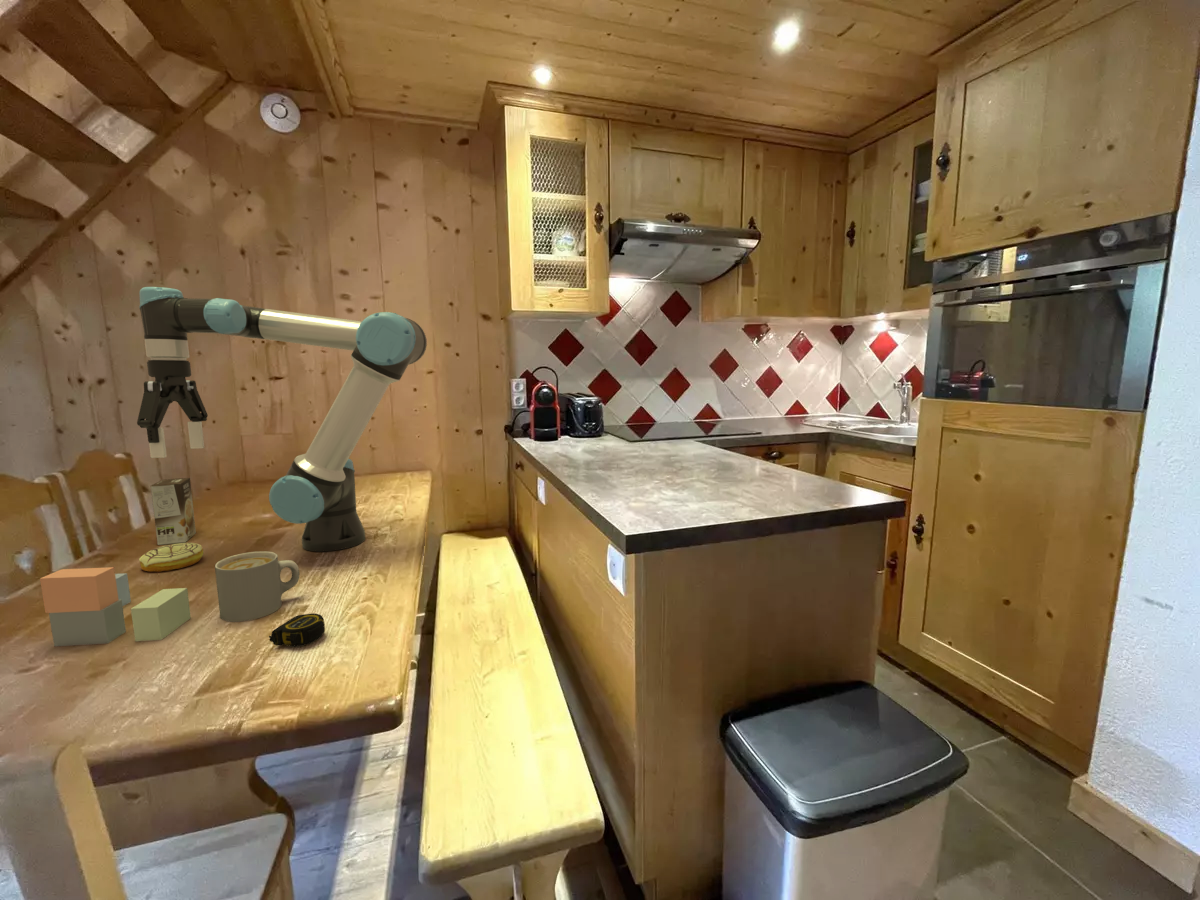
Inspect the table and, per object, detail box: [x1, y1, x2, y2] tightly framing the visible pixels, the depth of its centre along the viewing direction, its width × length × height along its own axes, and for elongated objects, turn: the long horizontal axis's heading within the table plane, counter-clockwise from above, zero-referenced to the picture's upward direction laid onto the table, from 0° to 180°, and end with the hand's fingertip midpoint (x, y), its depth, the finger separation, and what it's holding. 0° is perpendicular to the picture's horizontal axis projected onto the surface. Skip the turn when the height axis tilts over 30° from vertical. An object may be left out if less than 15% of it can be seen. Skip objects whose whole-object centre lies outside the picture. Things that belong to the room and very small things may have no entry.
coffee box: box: [150, 477, 197, 546], centre depth 140 cm, size 9×6×16 cm
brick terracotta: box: [39, 566, 119, 614], centre depth 87 cm, size 8×4×6 cm, turn 98°
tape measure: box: [268, 613, 326, 648], centre depth 89 cm, size 7×7×4 cm
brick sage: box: [130, 587, 192, 642], centre depth 92 cm, size 8×4×6 cm, turn 8°
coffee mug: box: [214, 550, 300, 623], centre depth 100 cm, size 13×10×10 cm
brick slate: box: [48, 600, 127, 647], centre depth 88 cm, size 8×4×6 cm, turn 98°
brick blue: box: [115, 573, 132, 607], centre depth 100 cm, size 8×4×6 cm, turn 98°
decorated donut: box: [138, 542, 204, 573], centre depth 123 cm, size 11×12×4 cm
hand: (179, 452), depth 119 cm, fingers open, 13 cm apart
